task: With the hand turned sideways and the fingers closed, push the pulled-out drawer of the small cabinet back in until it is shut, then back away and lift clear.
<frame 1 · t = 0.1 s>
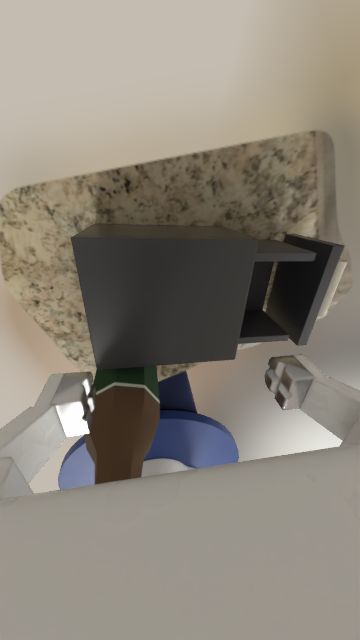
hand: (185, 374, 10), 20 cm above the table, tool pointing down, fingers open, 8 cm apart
drawer: (264, 289, 26), point 5 cm above the table, slide at 8.0 cm
cabinet: (161, 277, 28), on the table
beer bottle: (128, 348, 33), on the table
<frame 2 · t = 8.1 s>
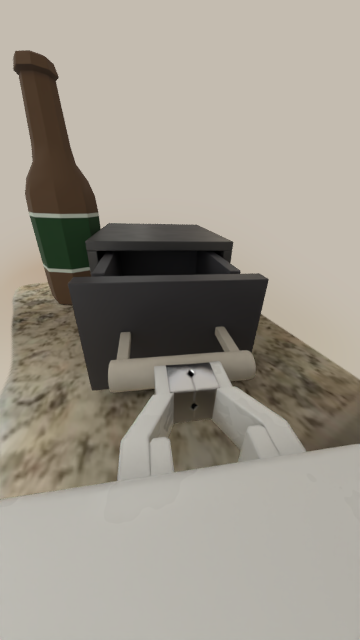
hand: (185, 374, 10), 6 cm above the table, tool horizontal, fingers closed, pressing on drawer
drawer: (166, 308, 18), point 5 cm above the table, slide at 6.5 cm, touching gripper
cabinet: (158, 306, 29), on the table
beer bottle: (82, 296, 32), on the table
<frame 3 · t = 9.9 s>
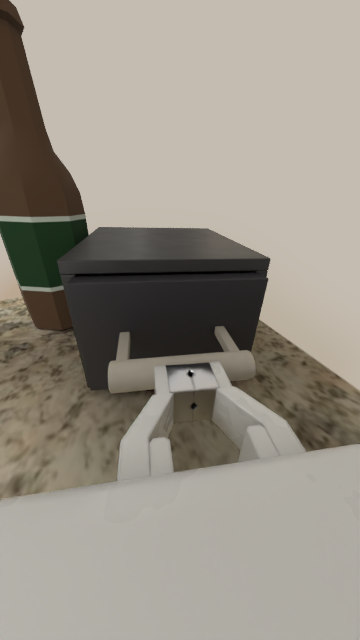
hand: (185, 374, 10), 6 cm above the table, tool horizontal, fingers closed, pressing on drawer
drawer: (165, 307, 18), point 5 cm above the table, slide at 0.0 cm, touching cabinet, gripper
cabinet: (162, 331, 24), on the table
beer bottle: (67, 316, 26), on the table
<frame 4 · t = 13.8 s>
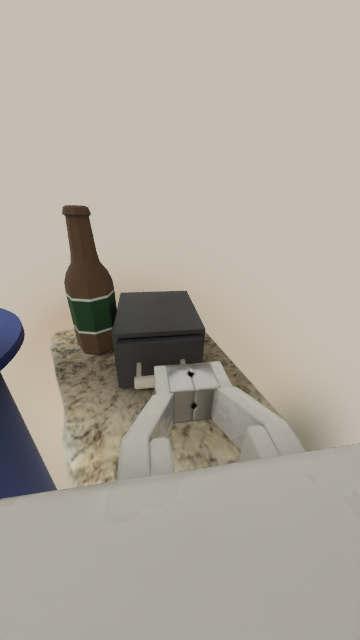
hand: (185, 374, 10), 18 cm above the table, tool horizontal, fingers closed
drawer: (158, 345, 34), point 5 cm above the table, slide at 0.0 cm
cabinet: (157, 355, 40), on the table
beer bottle: (100, 344, 43), on the table
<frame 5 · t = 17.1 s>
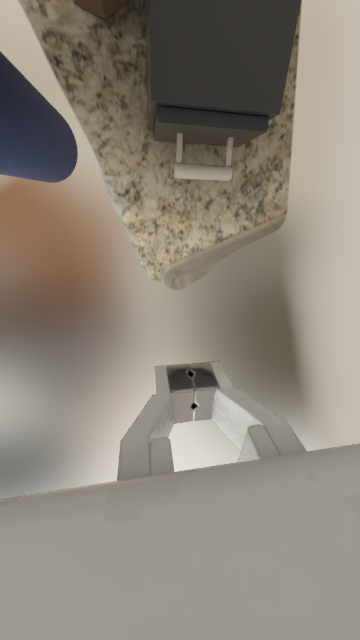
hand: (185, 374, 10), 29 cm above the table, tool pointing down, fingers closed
drawer: (208, 80, 23), point 5 cm above the table, slide at 0.0 cm
cabinet: (200, 52, 25), on the table
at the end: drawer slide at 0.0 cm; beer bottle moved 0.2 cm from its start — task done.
